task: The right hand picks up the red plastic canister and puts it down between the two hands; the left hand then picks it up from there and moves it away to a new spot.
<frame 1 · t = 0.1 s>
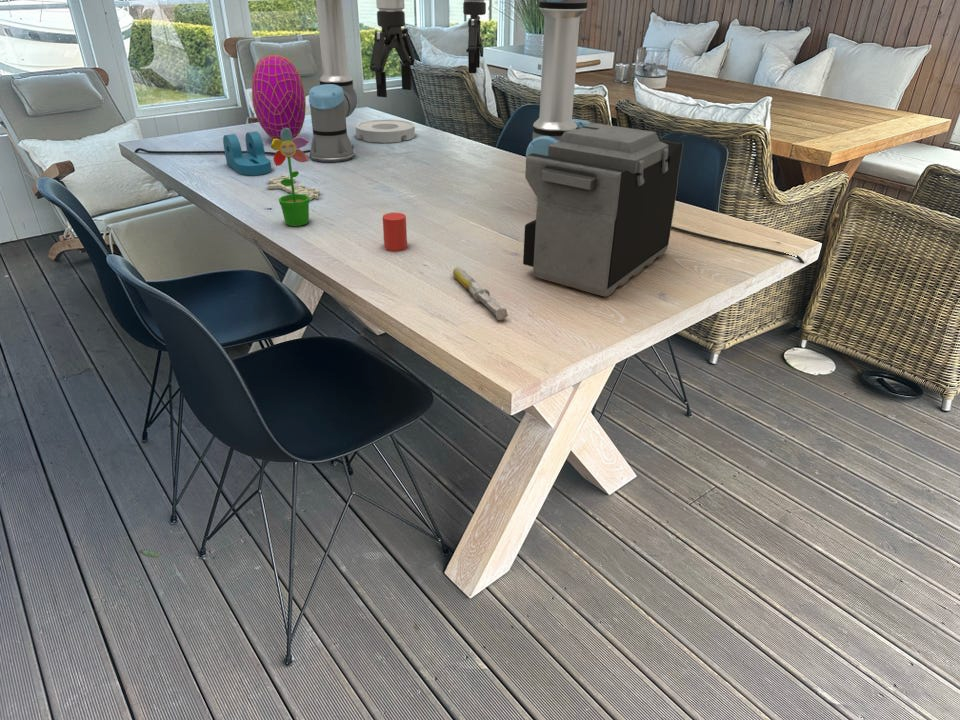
left hand: (474, 70, 237), 28 cm above the table, tool pointing down, fingers open, 13 cm apart
right hand: (394, 93, 197), 28 cm above the table, tool pointing down, fingers open, 13 cm apart
potted flower: (298, 223, 184), on the table
decorative egg: (284, 140, 265), on the table
grey cooler box: (597, 264, 161), on the table
canister: (395, 246, 169), on the table
ashtray: (385, 136, 272), on the table
camera mount: (251, 168, 229), on the table
decorative sign: (291, 190, 209), on the table
syringe: (478, 297, 145), on the table
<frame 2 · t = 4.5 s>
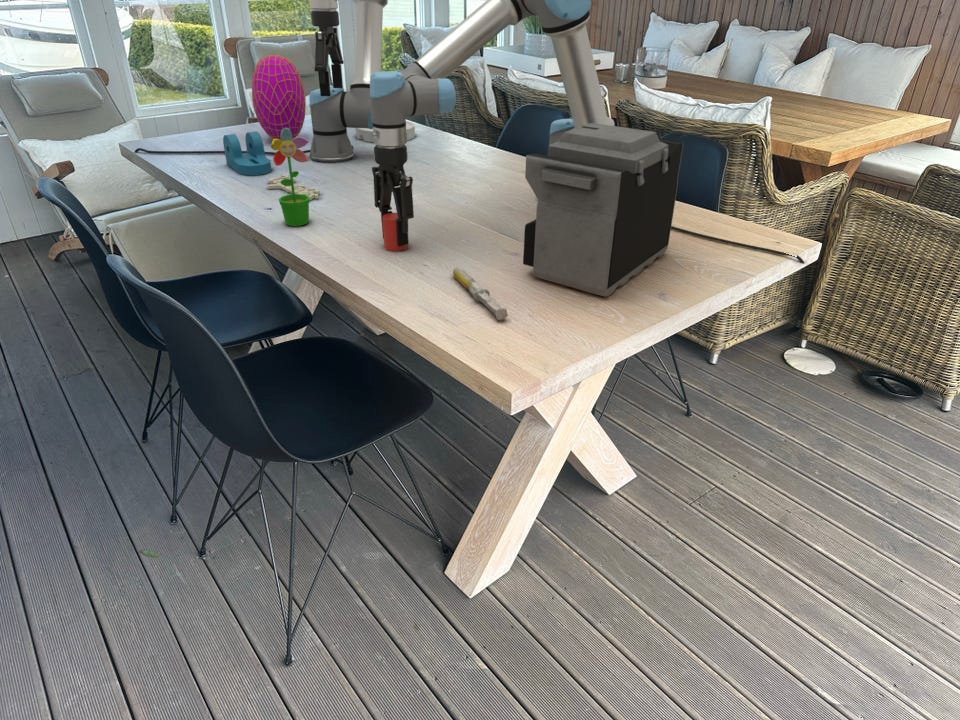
left hand: (332, 92, 199), 28 cm above the table, tool pointing down, fingers open, 13 cm apart
right hand: (395, 241, 169), 2 cm above the table, tool pointing down, fingers closed on canister, 6 cm apart
canister: (395, 246, 169), on the table, touching right hand
everything else where it was.
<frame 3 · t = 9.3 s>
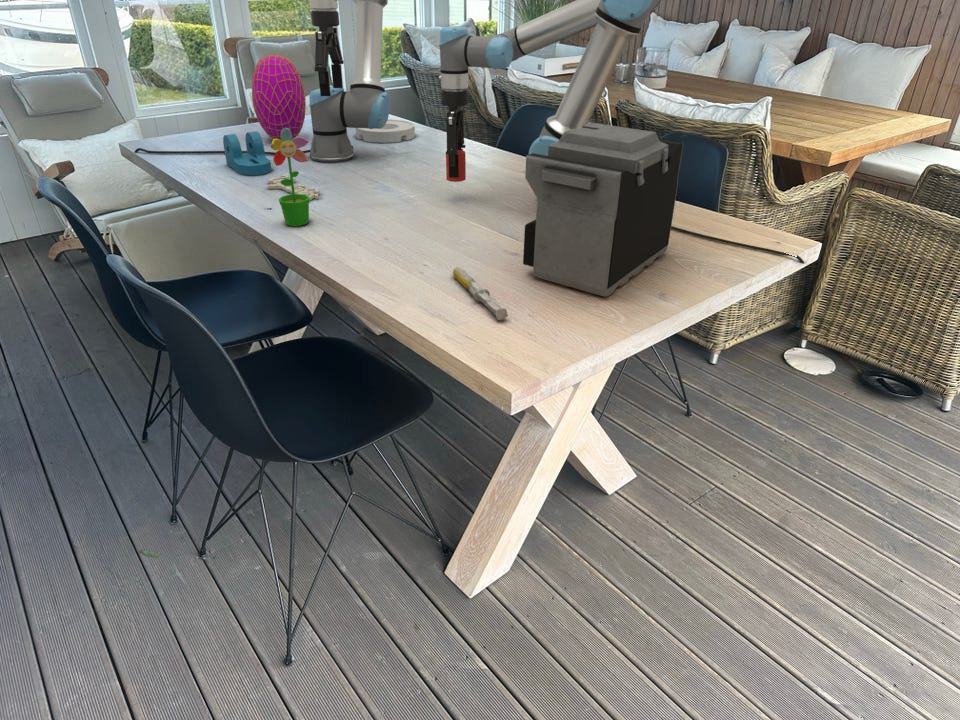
left hand: (332, 92, 199), 28 cm above the table, tool pointing down, fingers open, 13 cm apart
right hand: (456, 174, 199), 8 cm above the table, tool pointing down, fingers closed on canister, 6 cm apart
canister: (456, 179, 200), point 6 cm above the table, touching right hand
everything else where it was.
when the right hand's fingers open (3 cm above the table, at t = 14.4 s): canister drops 2 cm, on the table.
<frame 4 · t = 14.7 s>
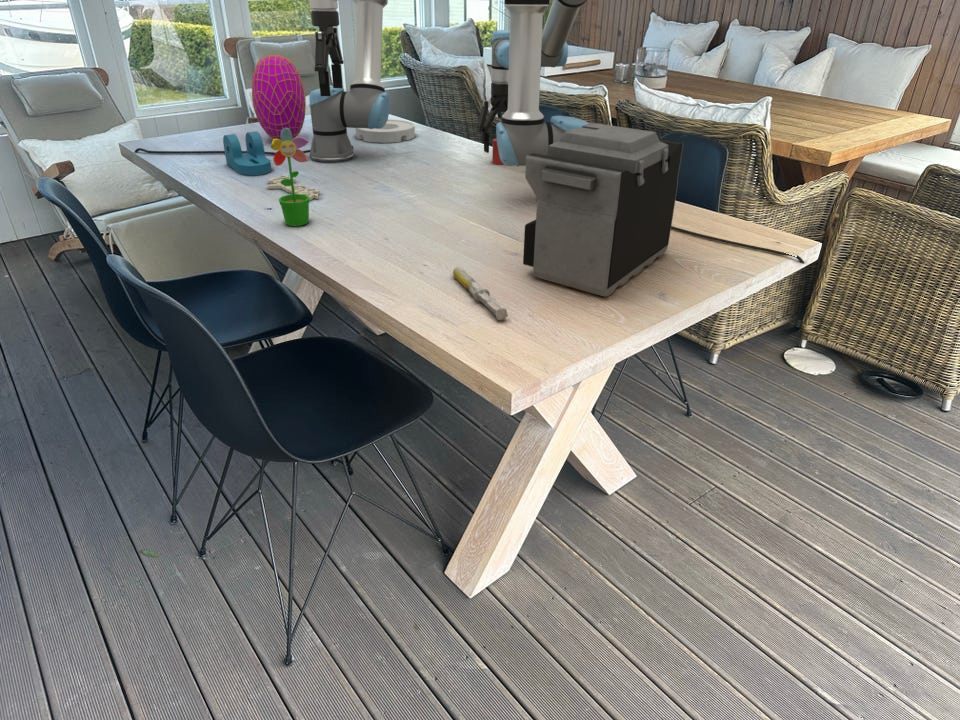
left hand: (332, 92, 199), 28 cm above the table, tool pointing down, fingers open, 13 cm apart
right hand: (500, 150, 237), 4 cm above the table, tool pointing down, fingers open, 10 cm apart
canister: (500, 162, 240), on the table
everything else where it was.
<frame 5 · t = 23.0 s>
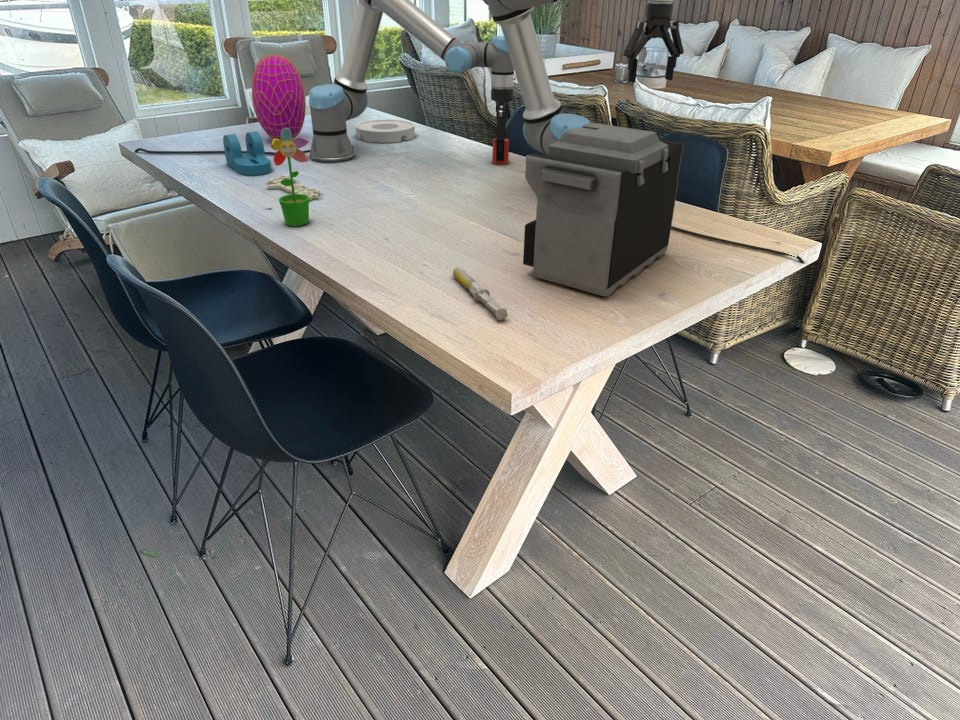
left hand: (500, 158, 239), 2 cm above the table, tool pointing down, fingers closed on canister, 6 cm apart
right hand: (650, 80, 210), 30 cm above the table, tool pointing down, fingers open, 13 cm apart
canister: (500, 162, 240), on the table, touching left hand
everything else where it was.
when the left hand's fingers open (3 cm above the table, at t = 32.9 s): canister drops 2 cm, on the table.
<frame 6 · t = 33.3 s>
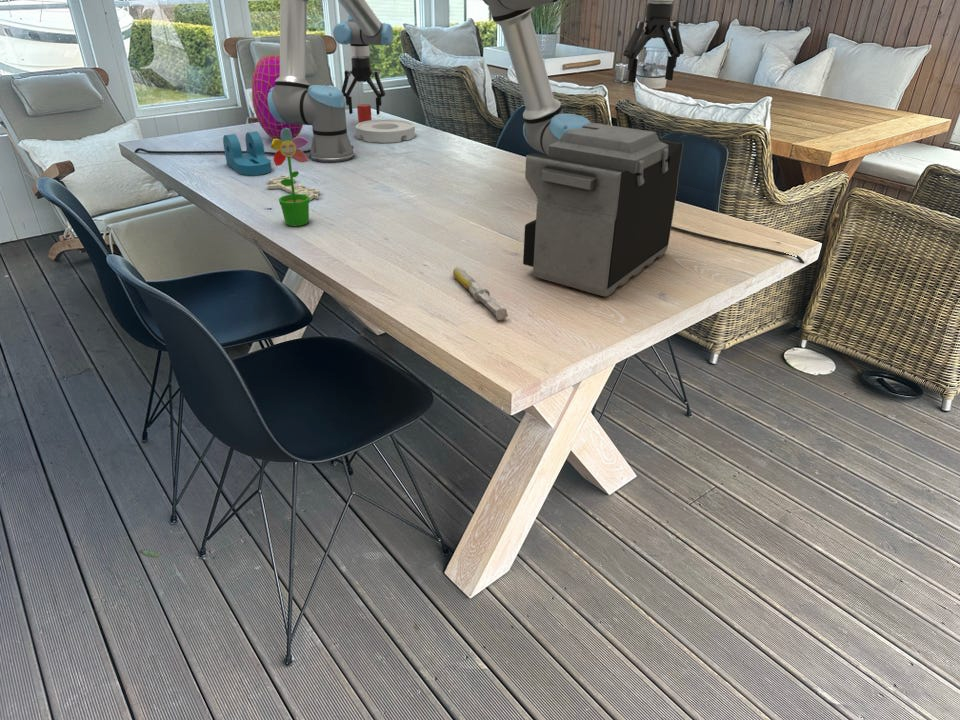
left hand: (364, 113, 289), 4 cm above the table, tool pointing down, fingers open, 11 cm apart
right hand: (650, 80, 210), 30 cm above the table, tool pointing down, fingers open, 13 cm apart
canister: (365, 124, 291), on the table
everything else where it was.
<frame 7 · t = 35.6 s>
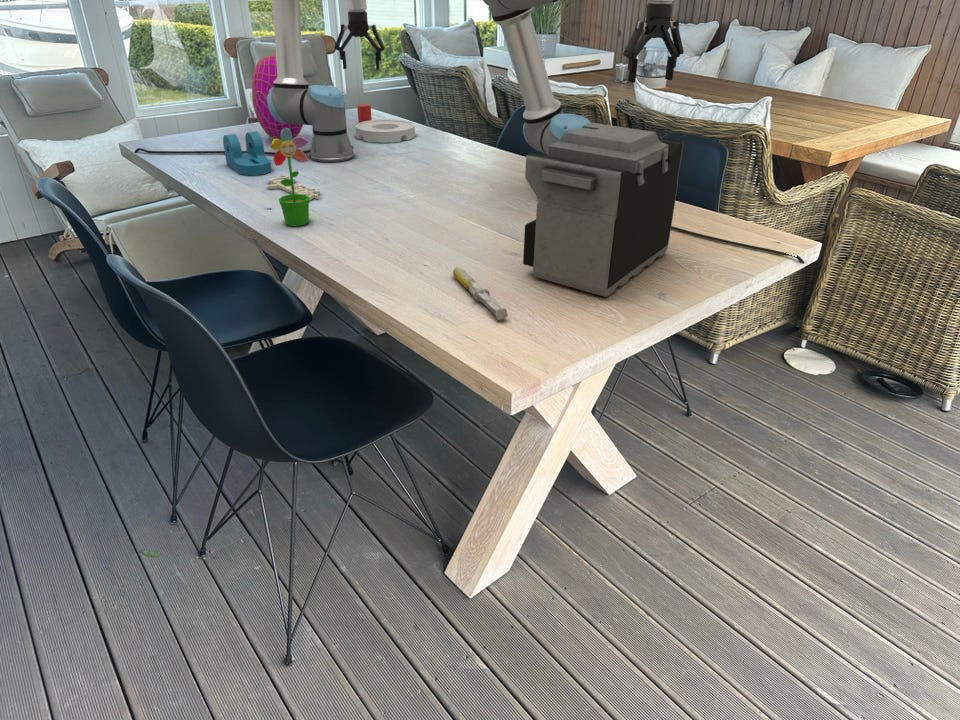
left hand: (361, 69, 280), 22 cm above the table, tool pointing down, fingers open, 13 cm apart
right hand: (650, 80, 210), 30 cm above the table, tool pointing down, fingers open, 13 cm apart
nothing on the table moved.
at the end: canister inside the target area (0.0 cm from its centre), on the table; canister tilted 0°; the two hands never held the canister at the same time; the left hand is holding nothing; the right hand is holding nothing; canister at rest at the end (0.0 cm/s) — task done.
